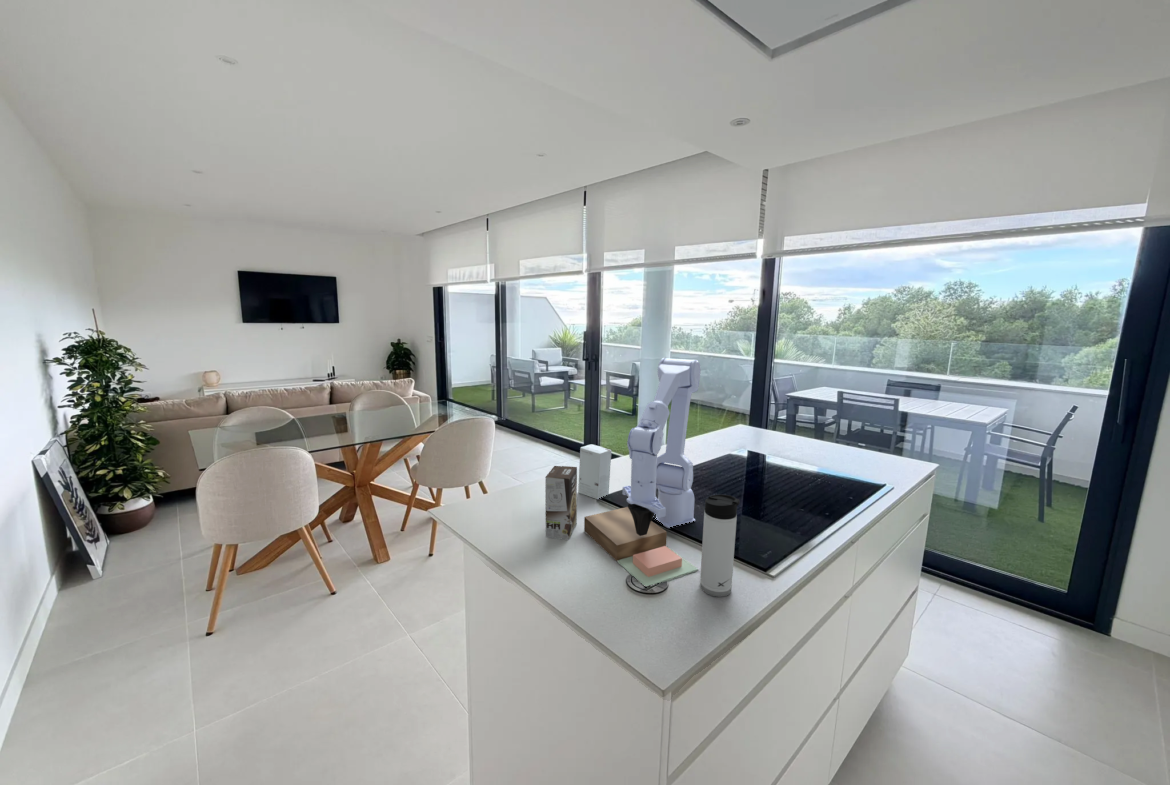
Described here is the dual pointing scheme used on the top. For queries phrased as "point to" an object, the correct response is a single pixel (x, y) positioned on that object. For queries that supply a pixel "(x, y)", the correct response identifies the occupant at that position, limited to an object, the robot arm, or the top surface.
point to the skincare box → (594, 471)
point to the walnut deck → (622, 534)
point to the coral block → (657, 561)
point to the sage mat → (658, 578)
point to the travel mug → (718, 544)
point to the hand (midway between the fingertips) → (641, 533)
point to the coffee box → (561, 502)
